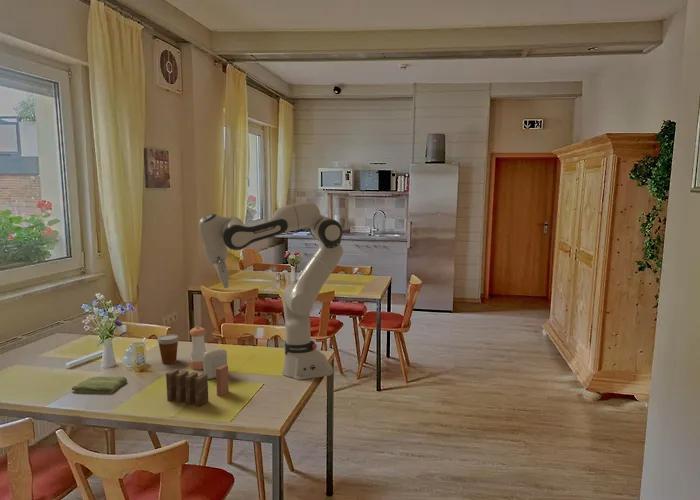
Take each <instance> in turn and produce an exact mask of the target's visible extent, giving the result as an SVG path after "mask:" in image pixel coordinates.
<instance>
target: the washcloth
mask: <svg viewBox="0 0 700 500" xmlns="http://www.w3.org/2000/svg"><path fill="white" fill-rule="evenodd" d="M127 382H128V379H127V377H126V376H124V375H123V376H92V377H88V378H86V379H84V380H82V381H80V382H79V383H77V384H76V385H73V386H72V387H71V390H72V391H73V392H74V394H112V393H114V392H115V391H116V390H118V389H119V388H120V387H122V386H123V385H125V384H126V383H127Z"/></svg>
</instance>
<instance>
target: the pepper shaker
mask: <svg viewBox="0 0 700 500" xmlns="http://www.w3.org/2000/svg"><path fill="white" fill-rule="evenodd" d="M206 333H207V331H206V329H205V328H204V327H200V326H198V325H197V326H195V327H193V328H191V329H190V330H189V335H190V336H191V351H190V358H191V359H190V368H191V370H195V371H196V370H204V363H203V355H204V353H205V352H207V349H206V346H205V335H206Z"/></svg>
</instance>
